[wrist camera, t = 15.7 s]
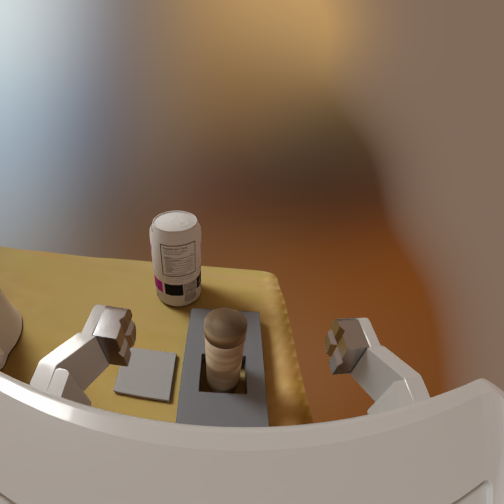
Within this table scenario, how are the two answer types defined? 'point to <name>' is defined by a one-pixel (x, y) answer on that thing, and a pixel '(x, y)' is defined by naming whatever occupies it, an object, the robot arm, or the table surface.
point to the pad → (147, 375)
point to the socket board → (222, 404)
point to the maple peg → (224, 348)
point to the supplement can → (176, 257)
